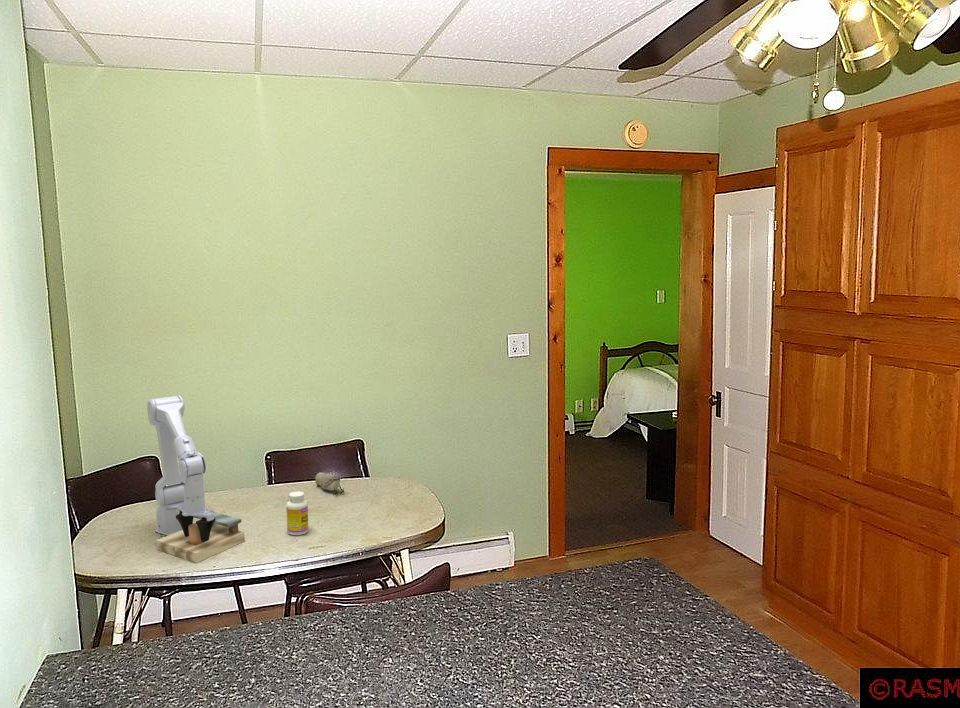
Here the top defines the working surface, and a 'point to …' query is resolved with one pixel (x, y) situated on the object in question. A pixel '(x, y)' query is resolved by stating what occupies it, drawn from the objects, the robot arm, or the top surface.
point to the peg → (194, 534)
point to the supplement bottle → (297, 514)
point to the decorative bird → (328, 482)
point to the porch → (219, 540)
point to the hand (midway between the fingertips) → (196, 538)
